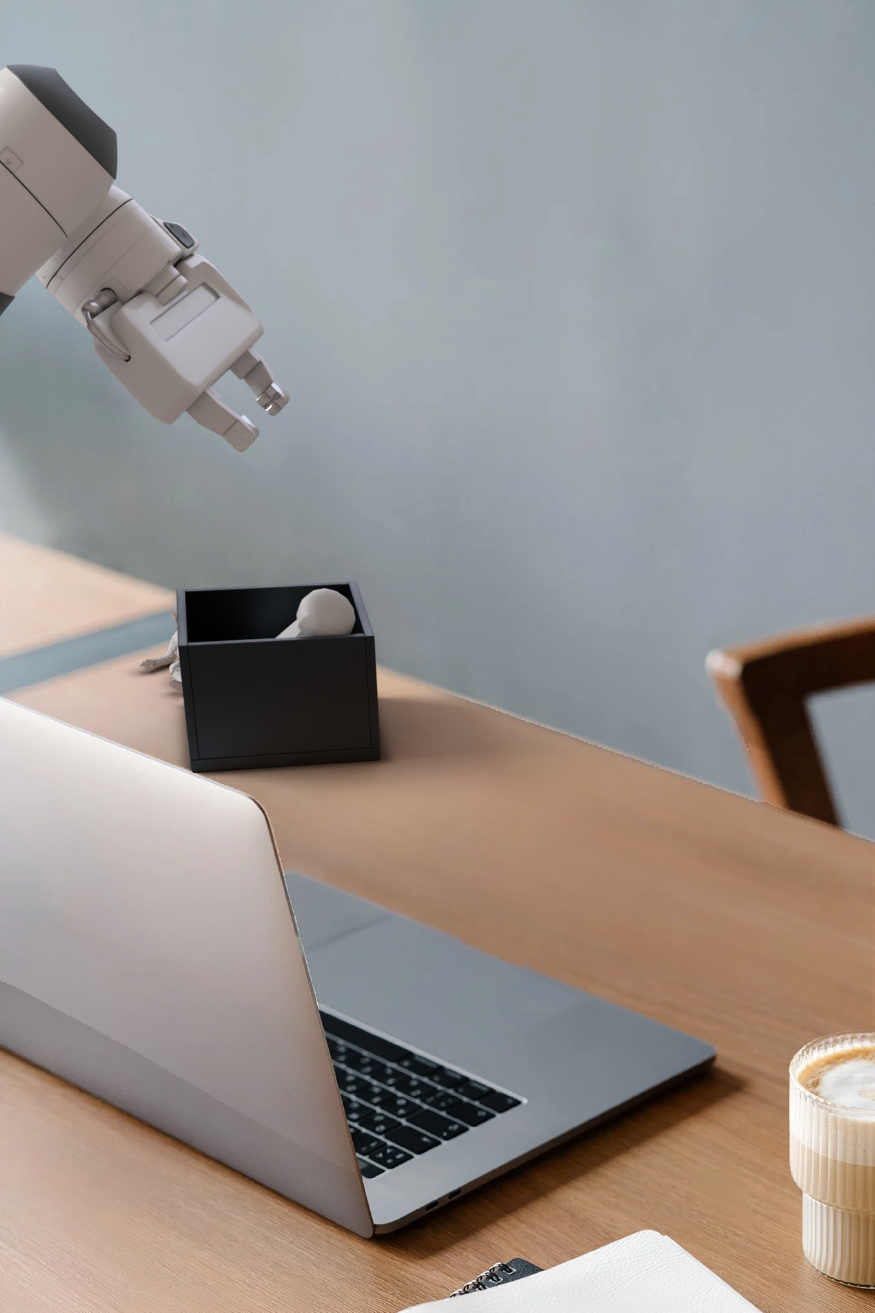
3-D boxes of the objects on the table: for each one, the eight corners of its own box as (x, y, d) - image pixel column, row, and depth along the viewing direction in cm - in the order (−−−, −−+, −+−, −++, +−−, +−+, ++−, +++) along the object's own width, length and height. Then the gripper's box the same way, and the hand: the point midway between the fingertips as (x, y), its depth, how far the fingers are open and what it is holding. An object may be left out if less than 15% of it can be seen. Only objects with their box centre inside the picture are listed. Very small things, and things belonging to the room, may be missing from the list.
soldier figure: (145, 707, 152) (121, 624, 159) (189, 734, 155) (163, 651, 163) (207, 646, 150) (180, 565, 157) (250, 675, 153) (222, 593, 161)
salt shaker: (261, 642, 147) (306, 561, 136) (326, 671, 149) (376, 594, 138) (239, 700, 144) (284, 623, 133) (306, 729, 146) (356, 655, 135)
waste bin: (191, 772, 137) (177, 645, 132) (188, 707, 149) (176, 589, 145) (381, 759, 140) (374, 635, 135) (363, 696, 152) (356, 580, 148)
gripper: (103, 276, 118) (260, 436, 123) (190, 220, 135) (325, 362, 140) (44, 342, 120) (201, 496, 125) (137, 278, 138) (272, 416, 142)
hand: (267, 425), depth 133 cm, fingers open, 8 cm apart
